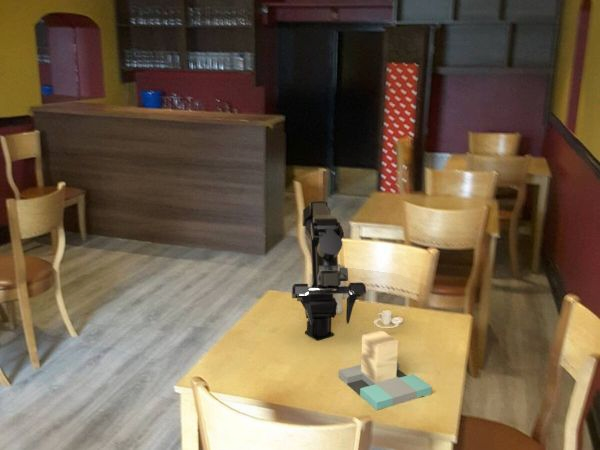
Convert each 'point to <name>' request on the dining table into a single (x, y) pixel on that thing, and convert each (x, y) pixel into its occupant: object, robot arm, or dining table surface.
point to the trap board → (379, 383)
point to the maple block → (379, 356)
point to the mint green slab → (383, 400)
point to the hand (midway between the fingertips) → (329, 323)
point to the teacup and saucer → (388, 319)
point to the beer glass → (339, 295)
